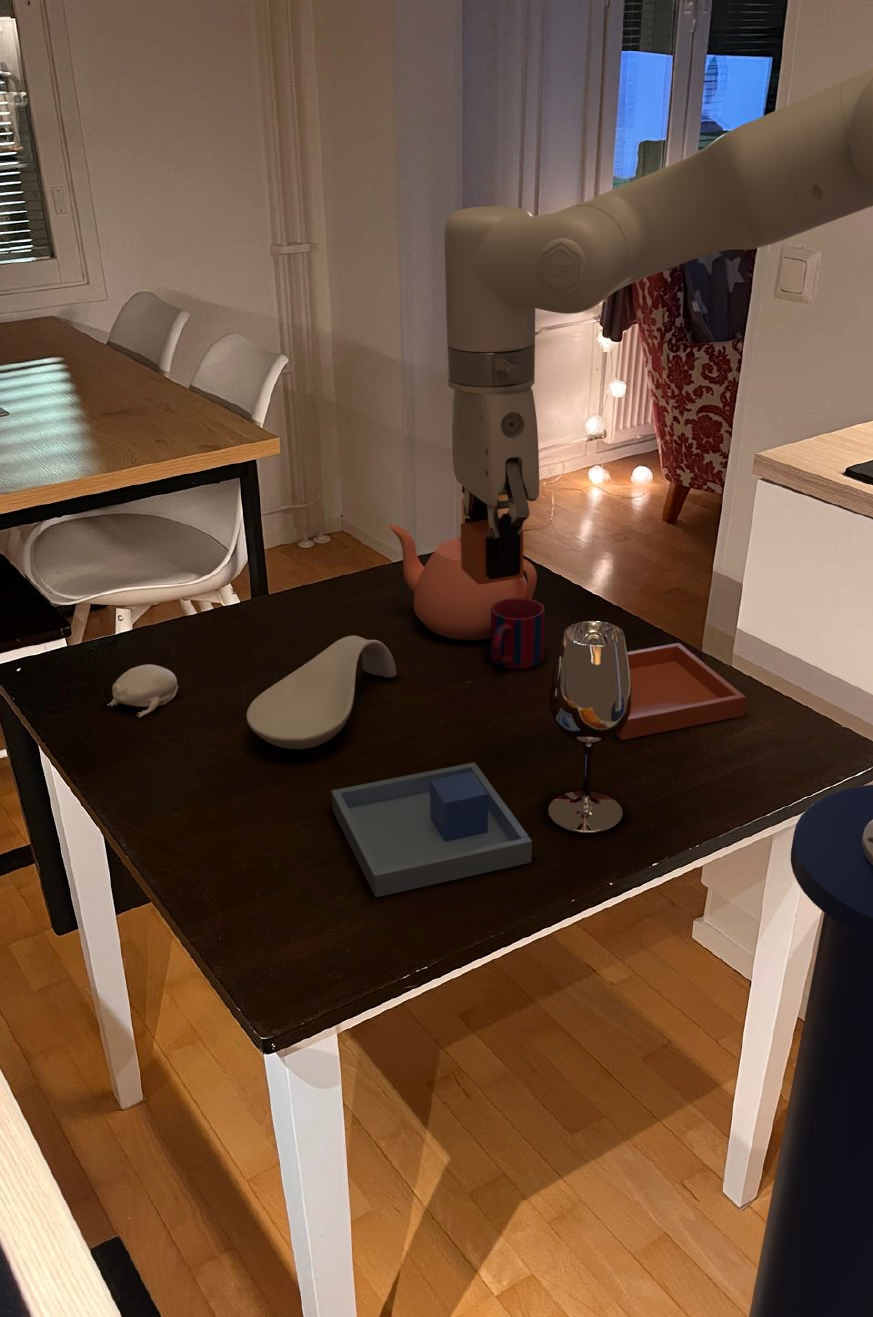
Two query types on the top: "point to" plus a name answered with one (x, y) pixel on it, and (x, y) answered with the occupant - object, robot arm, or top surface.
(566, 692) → the wineglass
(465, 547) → the terracotta block
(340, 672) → the spoon rest
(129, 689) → the frog figurine
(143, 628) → the top surface
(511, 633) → the mug
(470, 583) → the teapot
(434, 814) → the blue block
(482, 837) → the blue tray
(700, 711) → the terracotta tray
